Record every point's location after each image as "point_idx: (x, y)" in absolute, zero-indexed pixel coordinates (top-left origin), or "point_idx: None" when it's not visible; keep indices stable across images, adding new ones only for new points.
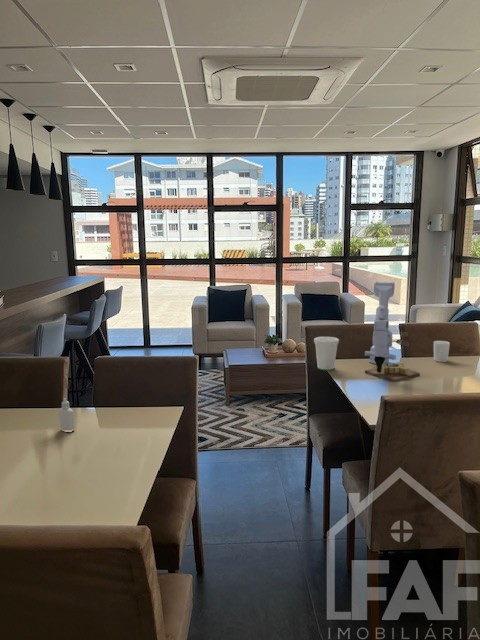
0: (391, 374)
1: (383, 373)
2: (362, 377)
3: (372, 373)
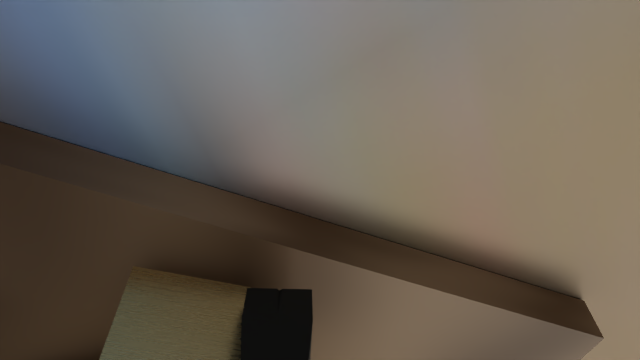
0: (71, 352)
1: (155, 285)
2: (604, 3)
3: (424, 276)
